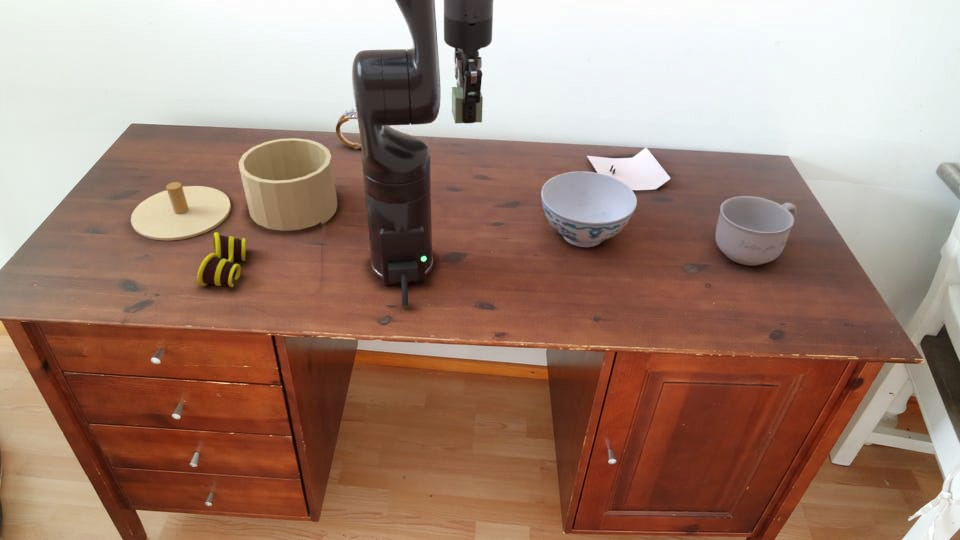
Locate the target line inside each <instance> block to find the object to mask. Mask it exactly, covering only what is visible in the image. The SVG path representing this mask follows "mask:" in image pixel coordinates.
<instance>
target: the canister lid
mask: <svg viewBox="0 0 960 540" xmlns="http://www.w3.org/2000/svg"><path fill="white" fill-rule="evenodd" d="M165 188H166V190H163V191H159V192H158V193H155V194H153V195H151V196H149V197H147V198H146V199H144V200H143V201H141V202H140V203H139V204H138V205H137V206H136V207H135V208H134V210H133V211H132V213H131V215H130V224H131V227H132V228H133V230H134V231H135V232H136V233H137V234H138V235H139V236H141V237H144V238H147V239H150V240H153V241H154V240H155V241H163V242H164V241H166V242H167V241H168V242H169V241H171V242H172V241H181V240H186V239H190V238H195V237H197V236H201V235H203V234H206V233H207V232H209V231H212V230H214V229H215V228H217V227H219V225H221V224H222V223H223V222H224V221H225V220H226V219H227V218H228V217H229V215H230V212H231V208H232V205H231V201H230V199H229V196H228V195H226V194H225V192H223V191H222V190H219V189H217V188H214V187H210V186H203V185H202V186H201V185H186V186H185V185H184V186H182V183H181V182H179V181H172V182H169V183H168V184H166V185H165Z"/></svg>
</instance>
